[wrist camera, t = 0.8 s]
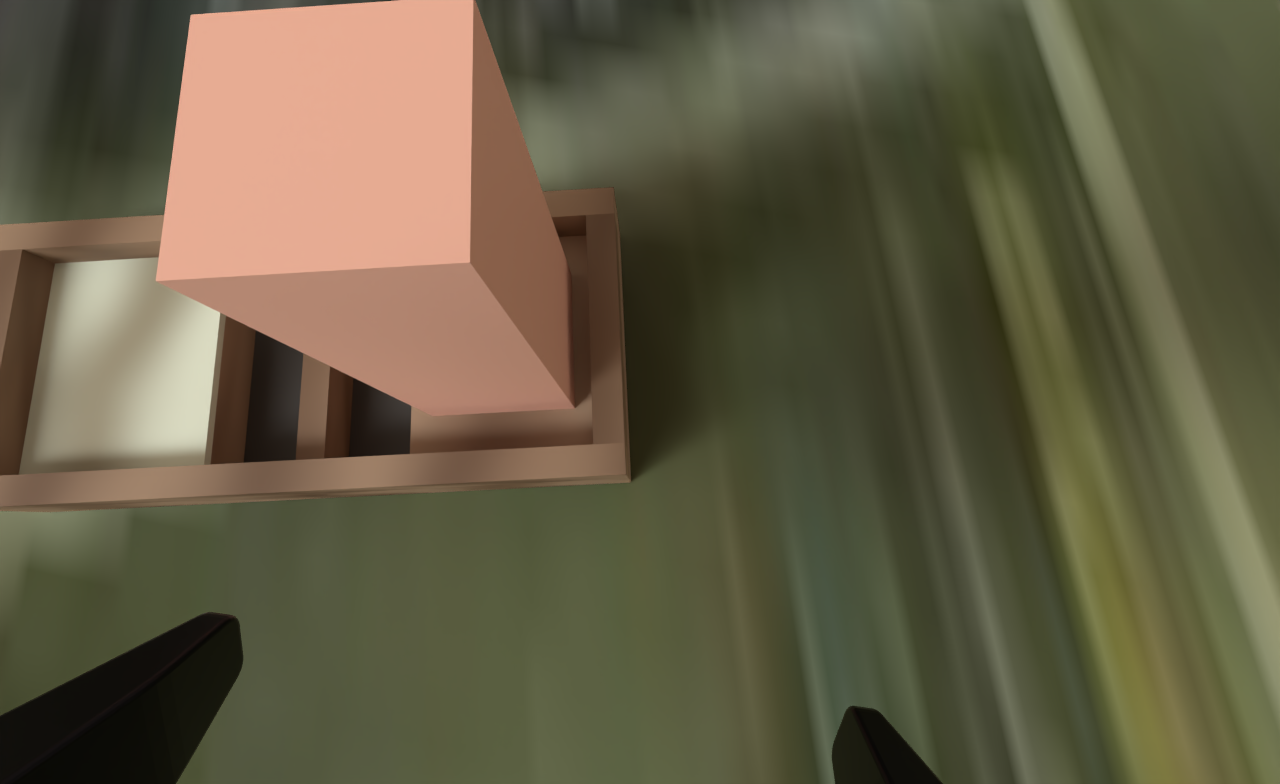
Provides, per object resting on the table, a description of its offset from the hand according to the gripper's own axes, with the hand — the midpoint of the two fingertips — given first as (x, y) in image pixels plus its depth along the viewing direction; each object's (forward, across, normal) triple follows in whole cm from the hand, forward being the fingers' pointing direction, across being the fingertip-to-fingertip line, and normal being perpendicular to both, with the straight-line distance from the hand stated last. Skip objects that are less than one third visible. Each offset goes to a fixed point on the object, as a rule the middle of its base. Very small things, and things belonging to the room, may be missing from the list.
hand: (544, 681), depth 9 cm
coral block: (+14, +4, 0) cm, 15 cm away
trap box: (+15, +10, +2) cm, 19 cm away
